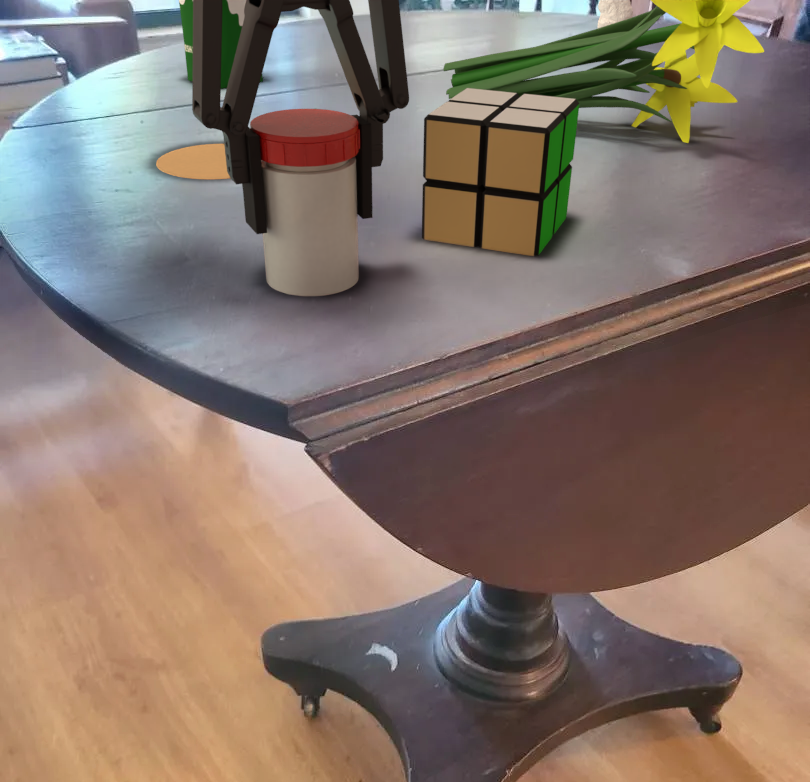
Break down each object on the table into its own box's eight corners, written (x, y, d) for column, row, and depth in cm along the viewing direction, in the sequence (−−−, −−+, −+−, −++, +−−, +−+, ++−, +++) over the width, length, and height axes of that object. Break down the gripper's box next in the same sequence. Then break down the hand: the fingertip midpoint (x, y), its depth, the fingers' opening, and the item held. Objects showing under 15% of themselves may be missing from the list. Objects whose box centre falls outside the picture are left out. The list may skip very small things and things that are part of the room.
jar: (253, 295, 69) (239, 145, 63) (283, 260, 75) (273, 118, 68) (345, 305, 68) (340, 153, 62) (368, 268, 73) (366, 125, 67)
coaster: (136, 177, 91) (135, 173, 90) (185, 143, 100) (184, 139, 100) (253, 187, 89) (253, 183, 88) (292, 152, 98) (292, 148, 98)
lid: (292, 131, 69) (290, 103, 68) (378, 145, 67) (378, 117, 65) (230, 156, 64) (227, 127, 63) (321, 173, 61) (320, 143, 60)
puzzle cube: (459, 205, 85) (464, 86, 79) (566, 220, 82) (581, 98, 76) (420, 243, 78) (422, 114, 72) (537, 261, 75) (550, 129, 69)
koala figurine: (586, 40, 147) (596, -50, 140) (629, 42, 146) (642, -49, 138) (582, 50, 140) (592, -43, 133) (627, 53, 139) (641, -41, 132)
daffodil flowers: (483, 106, 117) (785, 44, 102) (467, 200, 112) (782, 149, 97) (434, -12, 103) (776, -104, 88) (413, 89, 98) (772, 9, 83)
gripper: (419, -175, 60) (414, 187, 74) (99, -177, 54) (159, 222, 68) (473, -172, 55) (456, 217, 69) (125, -174, 48) (185, 258, 62)
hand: (309, 219), depth 68 cm, fingers closed on lid, 7 cm apart
